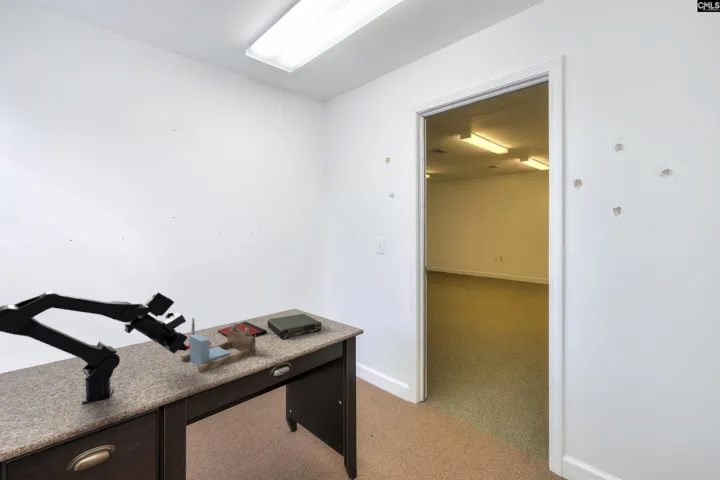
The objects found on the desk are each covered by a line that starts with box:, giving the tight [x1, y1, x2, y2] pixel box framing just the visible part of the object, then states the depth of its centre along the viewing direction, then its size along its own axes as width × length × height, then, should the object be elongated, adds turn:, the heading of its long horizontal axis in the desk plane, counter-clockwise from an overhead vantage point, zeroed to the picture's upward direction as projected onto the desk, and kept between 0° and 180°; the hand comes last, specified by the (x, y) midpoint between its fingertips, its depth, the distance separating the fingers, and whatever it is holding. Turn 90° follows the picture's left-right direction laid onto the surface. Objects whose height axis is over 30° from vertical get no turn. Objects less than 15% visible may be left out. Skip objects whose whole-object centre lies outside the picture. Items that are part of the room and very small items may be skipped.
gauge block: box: [188, 333, 231, 367], centre depth 120 cm, size 11×10×10 cm
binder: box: [217, 321, 268, 338], centre depth 151 cm, size 16×2×21 cm
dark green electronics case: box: [267, 313, 322, 340], centre depth 156 cm, size 23×23×5 cm
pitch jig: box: [180, 322, 256, 373], centre depth 123 cm, size 22×18×10 cm
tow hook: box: [185, 317, 211, 349], centre depth 135 cm, size 8×13×9 cm
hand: (186, 349), depth 113 cm, fingers closed
